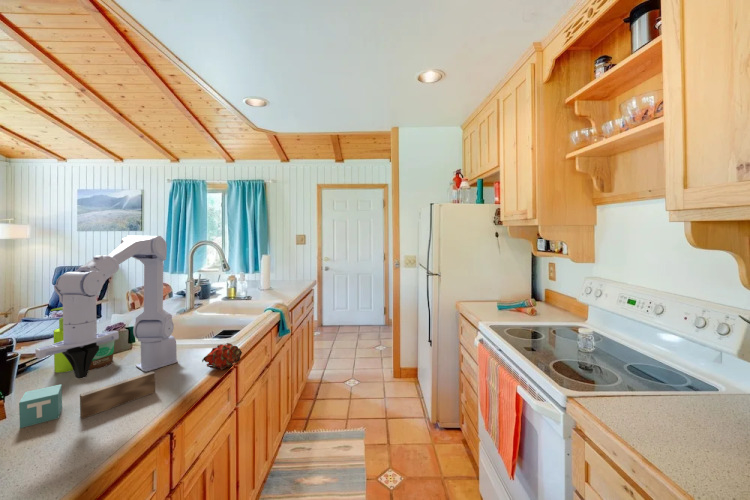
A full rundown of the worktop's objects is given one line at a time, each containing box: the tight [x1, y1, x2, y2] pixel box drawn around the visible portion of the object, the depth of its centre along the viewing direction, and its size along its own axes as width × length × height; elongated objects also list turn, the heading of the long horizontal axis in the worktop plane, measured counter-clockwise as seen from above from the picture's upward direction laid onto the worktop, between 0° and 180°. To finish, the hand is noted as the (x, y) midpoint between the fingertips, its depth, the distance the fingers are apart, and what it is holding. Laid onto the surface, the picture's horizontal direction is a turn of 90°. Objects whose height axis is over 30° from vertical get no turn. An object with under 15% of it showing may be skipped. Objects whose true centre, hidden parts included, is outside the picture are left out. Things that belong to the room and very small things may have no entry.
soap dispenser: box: [50, 306, 74, 374], centre depth 96 cm, size 6×7×20 cm
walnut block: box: [79, 370, 156, 420], centre depth 77 cm, size 15×2×6 cm, turn 148°
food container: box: [89, 329, 116, 371], centre depth 99 cm, size 12×6×10 cm, turn 168°
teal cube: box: [18, 383, 63, 429], centre depth 71 cm, size 6×6×6 cm
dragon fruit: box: [201, 342, 243, 371], centre depth 100 cm, size 8×8×12 cm
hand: (81, 376), depth 72 cm, fingers closed
